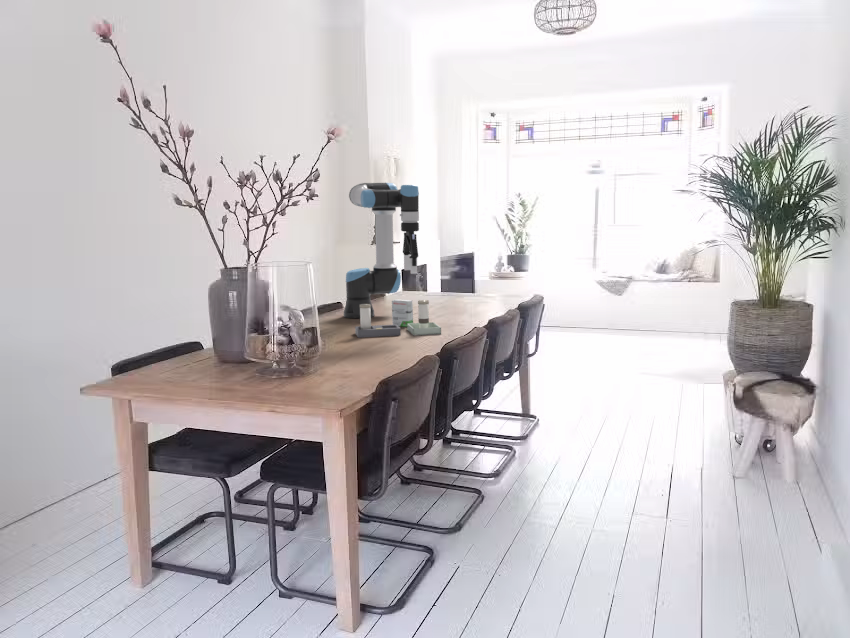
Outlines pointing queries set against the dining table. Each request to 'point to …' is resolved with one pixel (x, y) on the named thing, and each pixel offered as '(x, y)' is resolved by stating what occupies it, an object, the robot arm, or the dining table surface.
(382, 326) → the board
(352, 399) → the dining table surface
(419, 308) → the fuse
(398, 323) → the ink box
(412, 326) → the parts tray
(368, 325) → the fuse
